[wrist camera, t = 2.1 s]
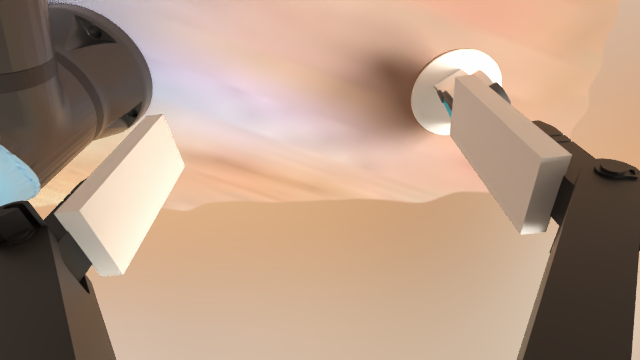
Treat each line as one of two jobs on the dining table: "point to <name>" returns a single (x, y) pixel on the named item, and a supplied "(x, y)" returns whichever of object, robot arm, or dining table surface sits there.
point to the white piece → (450, 86)
